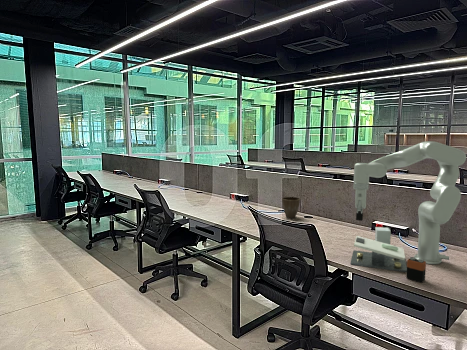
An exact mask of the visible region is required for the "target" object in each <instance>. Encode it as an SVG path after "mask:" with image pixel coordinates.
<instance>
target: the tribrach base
mask: <svg viewBox="0 0 467 350" xmlns="http://www.w3.org/2000/svg"><path fill="white" fill-rule="evenodd" d="M350 265H352V266H353V265H354V266H358V267H366V268H373V269H378V270H379V269H380V270H387V271H392V272H393V271H394V272H401V273H407V260H405V261H404V260H401V259H397V258H394V257H390V256H386V255H383V254H379V255H377V253H376V252H372V251H364V250H362V251H361V250H356V249H355V250H354V249H353V252H352V256H351V259H350Z"/></svg>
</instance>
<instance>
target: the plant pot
mask: <svg viewBox="0 0 467 350" xmlns="http://www.w3.org/2000/svg"><path fill="white" fill-rule="evenodd" d="M281 202H282V207H283V211H284V215H285V217H286V218H287V217H288V219H296V217H297V214H298V210H299V208H300V203H301V197H298V196H297V197H295V196H283V197H282V198H281Z"/></svg>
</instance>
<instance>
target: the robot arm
mask: <svg viewBox="0 0 467 350" xmlns="http://www.w3.org/2000/svg"><path fill="white" fill-rule="evenodd" d="M425 159H432V160H435V161H437V164H438V165H439V173H438V174H437V177H436V180H435V181H434V182H433V185H432V187H431V188H430V191H429V194H430V197H431V198H432V199H433V200H435V201H430V200H428V201H427V200H425V201H423V202H422V203H420V204H419V206H418V209H417V213H418V240H417V241H418V242H417V254H414V255H413V257H414V258H415V259H418V260H419V259H421V260H423V261H426V265H427V264H428V265H440V264H441V263H442V260H446V261H447V260H448V261H449V260H450V256H449V255H446V254H441V253H440V252H439V251H440V236H441V235H440V234H441V225H444V224H447V222H449V221H450V219H451V217H452V216H453V215H454V212H455V211H456V209H457V207H458V205H459V204H460V202H461V198H462V193H461V192H462V191H461V190H460V188H458V187H457V186H456V183H457V181H458V180H459V176H460V168H459V166H460V167H461V166H462V165H464V163H465V162H466V160H467V155H466V153H465V152H464V150H461V149H460V148H456V147H453V146H449V145H447V144H444V143H441V142H437V141H421V142H418V143H417V144H414V145H412V146H410V147H407V148H405V149H402V150H400V151H397V152H394V153H391V154H387V155H386V156H385V155H384V156H381V157H379V158H378V159H375V160H373V161H370V162H368V163H366V162H357V163H355V164H354V169H353V186H352V187H353V190H355V196H354V197H355V199H354V200H355V201H354V203H355V209H356V213H355V214H356V215H355V220H356V221H358V222H359V221H363V219H364V210H365V209H366V208H367V191H368V190H369V188H370V187H369V186H370V177H371V178H376V179H379V178H383V177H385V176H386V175H387V173H388V171H389V170H391V169H398V168H406V167H409V166H411V165H413V164H416V163H419V162H421V161H424V160H425Z"/></svg>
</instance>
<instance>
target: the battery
mask: <svg viewBox="0 0 467 350" xmlns="http://www.w3.org/2000/svg"><path fill="white" fill-rule="evenodd" d="M406 267H407V272H406V276H405V278H406V280H412V281H413V282H414V281H415V282H418V283H423V282H424V281H425V280H426V272H427V271H426V268H427V263H426V261H423V260H421V259H419V260H418V259H415V258H414V256H413V257H412V256H410V257H409V258H408V259H407V260H406Z"/></svg>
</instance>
